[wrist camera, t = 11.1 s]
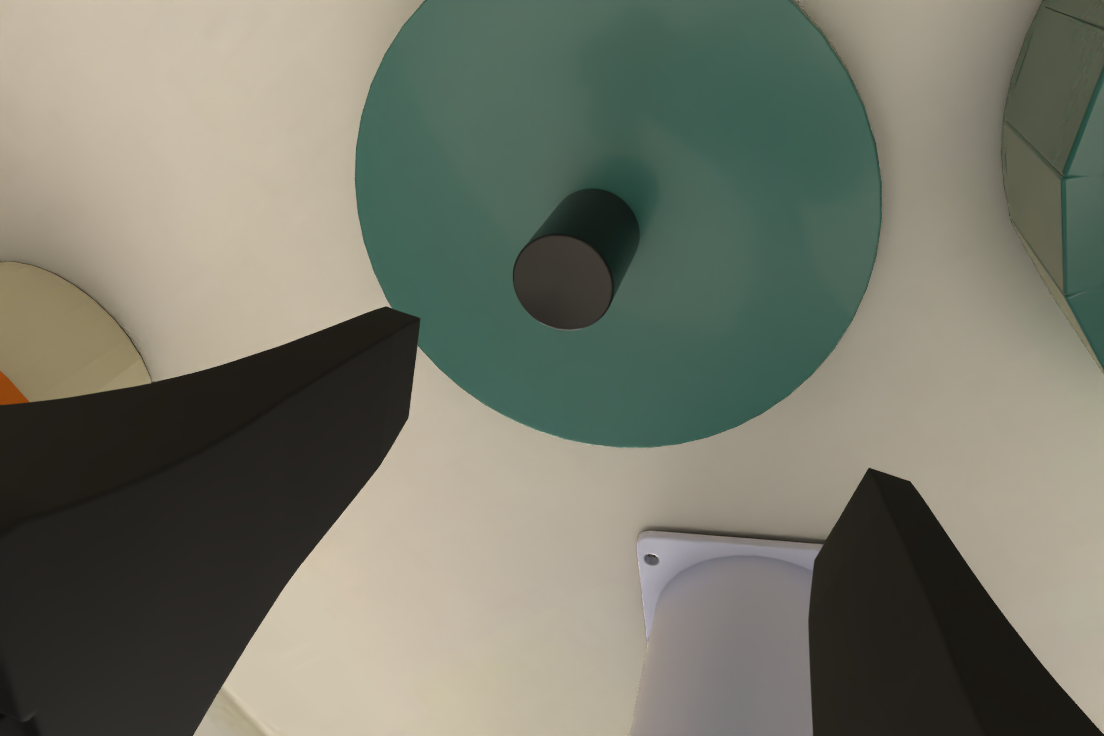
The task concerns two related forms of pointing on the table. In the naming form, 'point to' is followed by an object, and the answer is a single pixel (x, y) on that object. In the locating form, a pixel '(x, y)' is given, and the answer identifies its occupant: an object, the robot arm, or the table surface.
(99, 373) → the reusable coffee cup
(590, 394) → the tin lid
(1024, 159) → the lunch tin
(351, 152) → the table surface
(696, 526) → the table surface
